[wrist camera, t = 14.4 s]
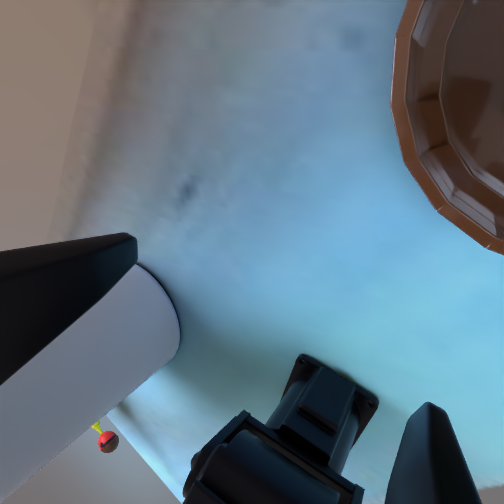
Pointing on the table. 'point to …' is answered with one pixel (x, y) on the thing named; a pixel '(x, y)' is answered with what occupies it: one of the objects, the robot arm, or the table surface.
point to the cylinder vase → (84, 375)
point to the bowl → (454, 110)
